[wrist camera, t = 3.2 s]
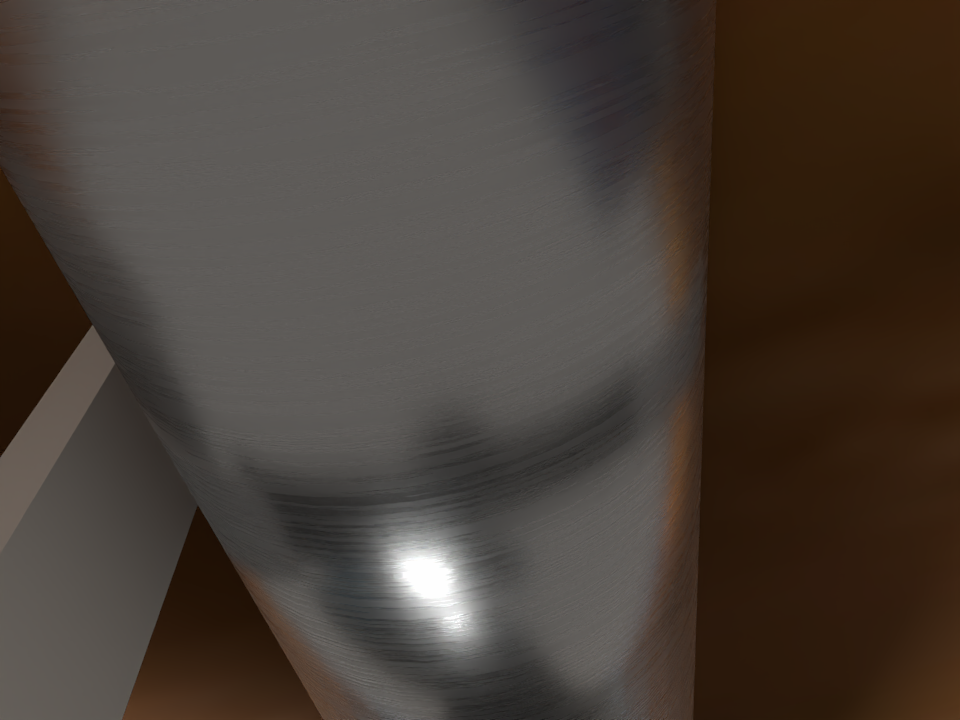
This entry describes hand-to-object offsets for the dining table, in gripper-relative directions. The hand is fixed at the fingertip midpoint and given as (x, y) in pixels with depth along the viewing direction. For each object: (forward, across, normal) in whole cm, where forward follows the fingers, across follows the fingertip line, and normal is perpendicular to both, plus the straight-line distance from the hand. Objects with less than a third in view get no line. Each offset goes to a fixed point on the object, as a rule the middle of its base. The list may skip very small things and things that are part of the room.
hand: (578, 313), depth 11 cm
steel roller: (-2, +2, 0) cm, 3 cm away
